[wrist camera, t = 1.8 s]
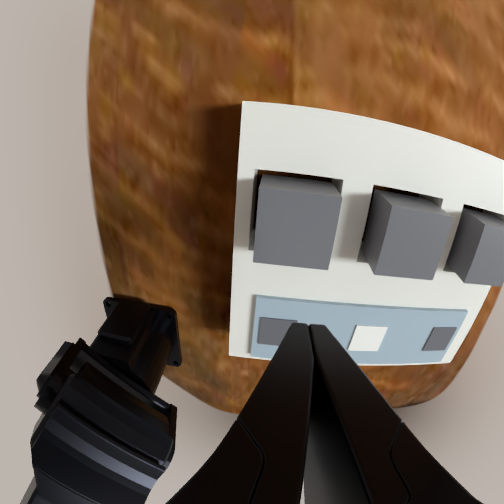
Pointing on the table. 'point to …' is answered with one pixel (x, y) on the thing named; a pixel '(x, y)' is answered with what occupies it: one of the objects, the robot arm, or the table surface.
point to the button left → (296, 222)
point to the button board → (356, 236)
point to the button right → (478, 249)
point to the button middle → (405, 236)
